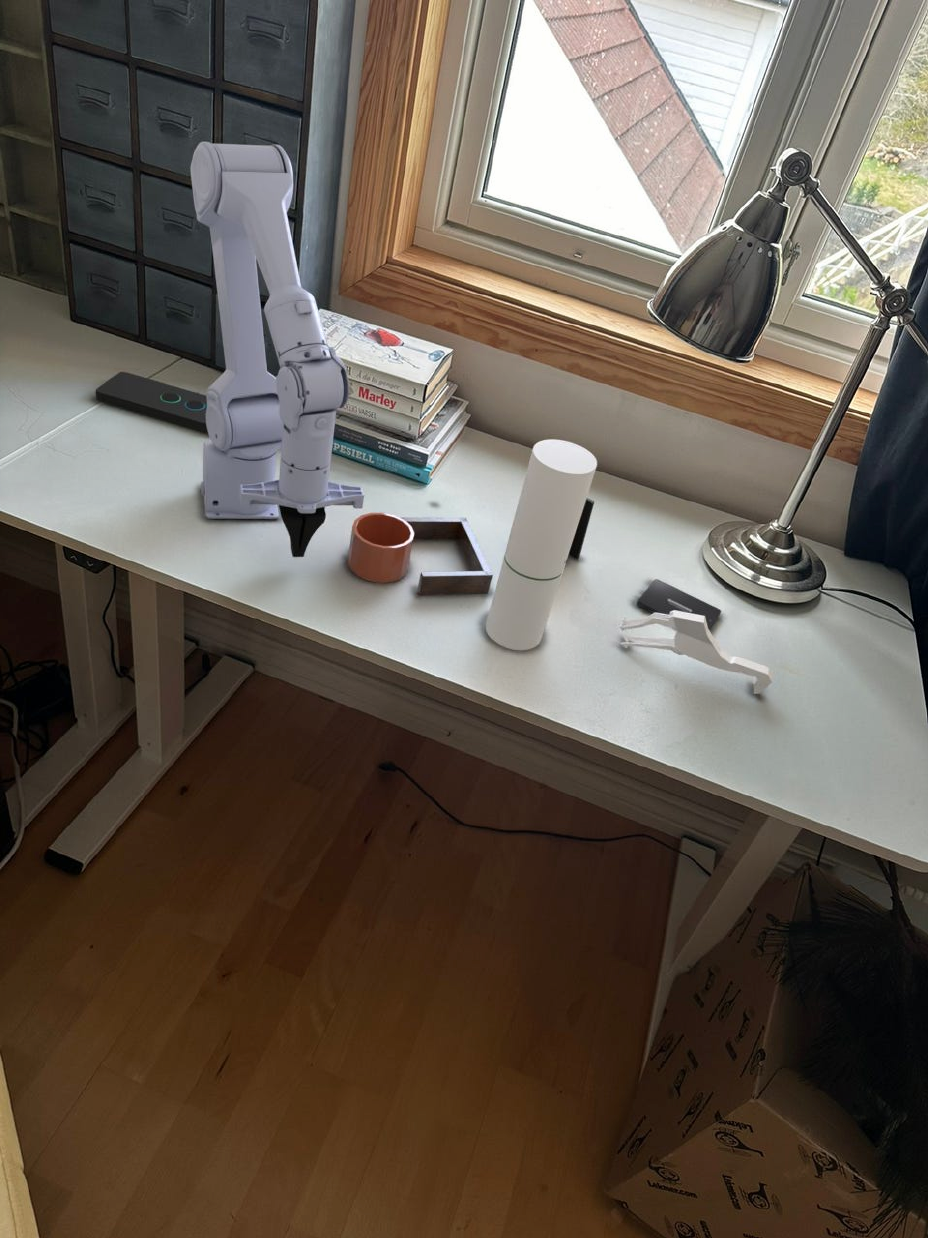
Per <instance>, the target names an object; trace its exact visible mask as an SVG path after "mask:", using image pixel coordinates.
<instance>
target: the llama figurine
mask: <svg viewBox="0 0 928 1238" xmlns="http://www.w3.org/2000/svg"><path fill="white" fill-rule="evenodd" d="M621 623H622V624H621V625H619V628H620V630H621V631H622V632H623V631H625V632H627V630H632V629H639V628H643V627H646V626H650V625H656V624H657V625H660V626H664V627H667V628H671V629H672V630H673V631H675V632H674V636H673V638H672V637H671V638H670V637H646V636H633V635H623V637H622V638H623V639H624V642H620V645H621V646H622V647H623V648H624V649H628V647H637V648H640V647H641V648H651V649H658V650H667V651H671V652H672V653H674V654H676V655H678V656H687V657H688V658H691V659H694V660H696V661H698V662H701V663H703V664H705V665H707V666H710V667H713V668H717V669H719V670H722V671H726V672H732V673H739V674H743V675H746V676H751V677H752V686H753V693H752V695H755V694H757V695H758V694H761V692H762V691H763V690H765V689H768V687H769V685H770V684H772V683H773V673H772V671H771V669H770V667H768V666H766V665H762V664H760V663H758V662H757V663H756V662H755V661H752V660H748V659H746V658H742V657H740V656H737V655H733V656H732V655H731V654H729V653H728V652H727V651H725V650H724V649H722V648H721V646H720V644H719V643H718V641H717V640H716V639H715V637H714V635H713V634H712V633H711V630H709V629H708V626H707V622H706V619H705V616H702V615H697V614H692V613H686V612H681V611H676V610H673V611H671V612H670V615H667V614H661V613H652V614H650V615H648V616H645V617H641V618H640V617H639V618H636V619H628V620H626V618H625V617H624V618H623V619H621ZM630 641H633V642H630ZM634 641H636V642H634ZM640 642H641V643H640ZM642 642H645V643H642Z"/></svg>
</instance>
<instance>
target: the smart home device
mask: <svg viewBox="0 0 928 1238" xmlns="http://www.w3.org/2000/svg"><path fill="white" fill-rule="evenodd" d="M95 399H96V401H98V402H100V403H104V404H106V405H110V406H113V407H117V408H120V409H124V410H127V411H130V412H134V413H136V414H140V415H144V416H148V417H150V418H154V419H158V420H161V421H164V422H168V423H172V424H175V425H179V426H181V427H185V428H188V429H191V430H195V431H198V432H202V433H205V434H208V430H207V426H206V410H207V397H206V394H202V393H199V392H196V391H192V390H188V389H186V388H182V387H178V386H175V385H171V384H168V383H165V382H162V381H158V380H155V379H151V378H148V377H144V376H141V375H137V374H134V373H130V372H126V371H119V372H118V373H116V374H114V375H113V376H112V377H110V378H109V379H108V380H107V381H105V382H104V383H102V384H100V385H99V386H98V387H97V388H95Z"/></svg>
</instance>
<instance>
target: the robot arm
mask: <svg viewBox="0 0 928 1238" xmlns="http://www.w3.org/2000/svg"><path fill="white" fill-rule="evenodd" d="M290 159H291V158H290V157H289V155H288V153H287V152H286V150H285V149H284V148H283V147H282V146H281V145H280V144H271V145H261V144H259V145H257V144H236V143H235V144H233V143H211V142H210V141H200V142H199V143H198V145H197V146H196V148H195V149H194V152H193V155H192V160H191V163H190V179H191V187H192V188H191V189H192V194H193V196H192V197H193V203H194V204H193V205H194V209H195V214H196V220H197V222H199V223H201V224H202V225H203V226H205V227H208V229H209V234H210V240H211V241H210V242H211V249H212V257H213V267H214V276H215V282H216V283H215V284H216V292H217V300H218V310H219V319H220V328H221V337H222V345H223V346H222V347H223V353H224V354H223V355H224V361H225V362H224V363H225V370H224V372H223V373H222V374H221V375H220V376H219V377H217V379H216V380H214V382H213V383H211V384H210V385H209V386H208V387H207V388H206V394H205V395H206V397H207V410H206V426H207V430H208V433H207V434H208V437H209V439H210V441H205V442H203V448H202V453H203V455H202V481H200V492H201V496H203V504H204V513H205V518H207V519H209V520H211V519H212V520H213V519H214V520H218V519H219V520H224V519H225V520H237V519H238V520H278V519H279V518H280V517H281V520H282V522H283V524H284V526H285V528H286V531H287V533H288V536H289V543H290V552H291V556H292V558H304V557H305V554H306V551H307V549H308V547H309V544H310V542H311V540H312V538H313V537H314V535H315V534H316V532H317V531H318V530H319V528H320V527H321V526H322V525H323V524H324V523H325V521H326V517H327V513H326V509H325V508H326V507H331V506H352V507H353V508H354V509H363V508H364V507H363V506H364V499H365V494H364V491H363V488H362V486H354V485H346V484H341V483H336V482H331V481H329V480H330V472H331V471H330V469H331V461H332V453H333V444H334V437H335V436H334V434H335V425H336V417H337V410H338V409H343V408H345V407H346V405H347V403H348V400H349V396H350V382H349V381H350V380H349V375H348V370H347V367H346V365H345V363H344V362H343V360H342V359H341V358H340V357H339V356H338V355H337V351H336V349H335V348H334V347H333V346H329V343H328V340H327V336H326V333H325V330H324V325H323V322H322V319H321V316H320V315H321V314H320V312H319V308H318V305H317V301H316V298H315V296H314V295H313V294H312V293H311V292H310V291H307V290H306V289H304V288H303V287H302V285H301V284H302V283H301V279H300V274H299V269H298V264H297V260H296V254H295V253H296V252H295V249H294V243H293V237H292V234H291V228H290V224H289V218H288V211H289V209H290V206H291V204H292V199H293V193H294V172H293V167H292V162H291V160H290ZM257 264H258V266H257ZM258 267H259V270H260V272H261V274H262V275H261V276H262V277H263V280H264V283H265V285H266V288H267V291H268V294H269V297H268V299H267V301H266V303H265V305H264V307H263V312H264V316H265V319H266V323H267V327H268V329H269V334H270V337H271V340H272V343H273V347H274V351H275V354H276V357H277V361H278V364H279V370H278V373H277V375H276V376H275V375H273V374H272V373H270V372H269V371H268V369H267V358H266V349H265V348H266V347H265V338H264V328H263V318H262V316H263V315H262V307H261V298H260V297H261V296H260V287H259V277H258ZM278 451H280V462H279V478H278V479H276V469H277V467H276V466H277V456H278ZM279 512H280V513H279Z"/></svg>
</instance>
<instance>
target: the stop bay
mask: <svg viewBox="0 0 928 1238" xmlns="http://www.w3.org/2000/svg"><path fill="white" fill-rule="evenodd" d="M400 518H401V519H403V520H405V521H406V522H407V523H408V524H409V525H410V526H411V527H412V529H413V531H414V539H413V541H414V540H421V541H423V540H432V541H433V540H457V542H458V544H459V547H460V549H461V552H462V554H463V557H464V558H465V561H466V563H467V565H468V567H469V570H461V571H457V570H455V571H453V570H452V571H421V572H420V574H419V578H418V579H419V580H418V585H417V588H416V589H417V593H418V595H419V596H431V595H433V596H435V595H438V596H439V595H477V594H479V595H480V594H483V595H484V594H489V592H490V589H491V584H492V581H493V577H494V574H493V573H492V570H491V568H490V565H489V563H488V561H487V560H486V557H485V556H484V554H483V551H482V549H481V546H480V545H479V542H478V541H477V538H476V536H475V534H474V532H473V529H472V528H471V525H470V524H469V521H468V519H467V518H466V517H405V516H404V517H400Z"/></svg>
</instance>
